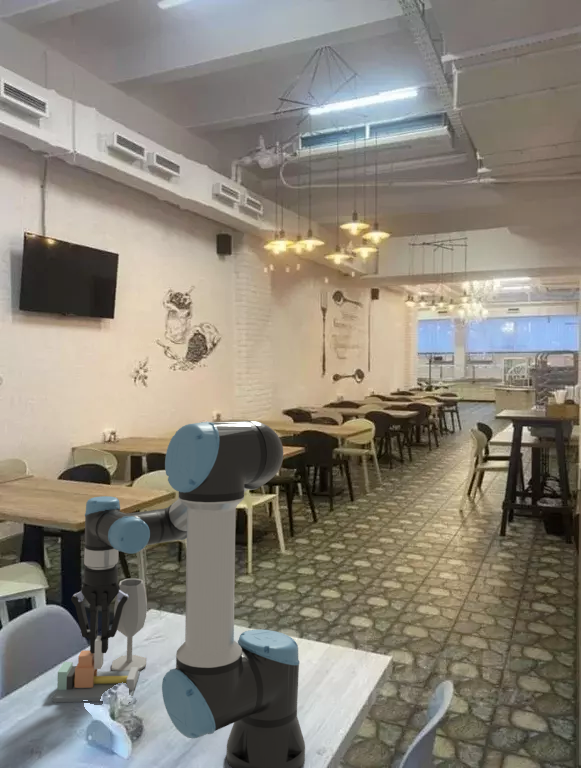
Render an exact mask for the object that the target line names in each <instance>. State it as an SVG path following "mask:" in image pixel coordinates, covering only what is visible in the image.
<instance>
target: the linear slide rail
mask: <svg viewBox="0 0 581 768" xmlns="http://www.w3.org/2000/svg"><path fill="white" fill-rule="evenodd" d="M73 664H74V663H73V661H63V663H62V664H61V666H60V668H59V670H58V671H57V688H56V689H57V690H56V691H55V693H54V695H53V697H52V703H82V702H81V701H83V700H88V701H92V702H93V703H95V702H98V701H100V699H101V696H102V694H103V693H104V692H105V691H107V690H108V689H110V688H112V687H113V686H114V685H116V684H118V683H122V682H123V683H126V684H127V686H128V688H129V695H131V696H133V697H134V693H135V691H136V688H137V685H138V681H139V678H140V674H141V673H140V672H141V670H140V671H138V667H131V669H130V671H113V670H109V671H104V670H103V671H97V676H94V686H93V688H75V668H76V666H77V665H73Z"/></svg>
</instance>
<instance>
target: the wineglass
mask: <svg viewBox="0 0 581 768" xmlns="http://www.w3.org/2000/svg"><path fill="white" fill-rule="evenodd" d="M118 585H119V587H120V590H121V591H122V592H124V593H128V594H129V597H128V599H127V601H126V602H125V604H124V607H123V610H122V614H121V618H120V621H119V625H118V628H117V632H119V633H121V634H122V635H124V636H125V637H127V638H126V655H121V656H119V657H118V658H115V659H114V660H112V664H111V671H130V669H131V667H138V671H140V672H141V670H143V669H144V668H146V667H147V657H145V656H141V655H136V654H133V637H134V636H135V635H137V633H139V632H140V631H141V630H142V629H143V628H144V626H145V623H146V619H147V603H148V602H147V601H148V599H147V592H146V587H145V583H144V580H143V579H140V578H135V577H134V578H125V579H122V580H120V581H119V582H118ZM117 599H118V596H117V595H116V597H115V601H114V602H115V603H114V610H113V613H114V614H113V617H114V616H115V613H116V609H117V606H118V604H119V602H118V601H117Z"/></svg>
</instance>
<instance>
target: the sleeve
mask: <svg viewBox="0 0 581 768" xmlns="http://www.w3.org/2000/svg"><path fill="white" fill-rule="evenodd" d="M94 655H95V653H91V652H90V649H89V650H88V649H87V650H81V651H80V653H79V655H78V657H77V658H78V661H77V664H76V665H75V666H76V668H75V688H93V686H94V676H97V672H98V669H94Z"/></svg>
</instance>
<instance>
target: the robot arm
mask: <svg viewBox="0 0 581 768" xmlns="http://www.w3.org/2000/svg"><path fill="white" fill-rule="evenodd" d="M283 461H284V447H283V443H282V440H281V439H280V437H279V435H278V434H277V432H276V431H275V430H274V429H272V428H271V427H270V426H268V425H267V424H265V423H262V422H260V421H255V420H243V421H240V420H239V421H202V422H201V421H200V422H194V423H188V424H185V425H183V426H180V428H178V430H177V431H176V432H175V434H174V435H173V436H171V439H170V441H169V443H168V446H167V449H166V452H165V460H164V469H165V475H166V476H167V477H168V478H167V481H168V483H169V485H170V486H171V488H172V489H173V490H175V491H177V492H178V499H176V500H175V501H174V502H173V503H171V504H170V505H169V506H168V507H165V508H159V509H152V510H144V511H137V512H131V513H130V512H129V513H125V512H123V511H121V505H120V500H119V498H118V497H115V496H109V495H108V496H107V495H106V496H103V495H102V496H101V495H100V496H95V497H90V498H88V500H87V501H86V503H85V506H86V507H85V513H84V517H85V518H84V521H85V522H84V558H83V559H84V560H83V562H84V563H83V564H84V565H85V566H84V568H83V584H82V585H83V586H82V587H81V590H80V591H79V592H75V593H74V594H73V595H72V597H71V598H70V600H71V602H72V604H73V605H74V606H75V611H76V614H77V619H78V624H79V628H80V633H81V636H82V638H88V639H89V641H90V642H89V645H90V646H89V650H90V652H91V653H95V655H94V669H97V670H101V669H102V667H103V665H104V654H106V653H107V652H108V650H109V639H110V638H114V637H115V636H116V634H117V632H118V630H117V628H118V625H119V621H120V618H121V614H122V610H123V607H124V604H125V602H126V601H127V599H128V597H129V594H128V593H124V592H122V591H121V590H120V587H119V565H118V563H119V552H122V553H125V554H137V553H139V552H140V551H142V550H144V549H145V548H146V547H147V546H150V545H151V546H152V545H156V544H160V543H161V544H162V543H167V542H173V541H179V540H181V541H182V540H186V555H185V556H186V559H185V562H186V564H185V565H186V568H185V570H186V571H185V573H186V574H185V630H184V631H185V632H184V633H185V635H184V636H185V637H184V639H185V640H184V642H183V643H182V644H181V645H180V646H179V647H178V648H177V650H176V655H175V657H176V659H175V663H176V664H175V668H170V669H169V670H168V671H167V672H166V673H165V675H164V676H163V678H162V683H161V692H162V699H163V704H164V706H165V710H166V712H167V715H168V716H169V719H170V721H171V722H172V724H173V725H174V727H175V729H176V730H177V731H178V732H179V733H180V734H182V735H183V736H184V737H186V738H188V739H198V738H200V737H204V736H206V735H213V734H215V732H216V731H219V730H221V729H222V728H225V727H228V726H229V725H231V724H232V726H231V730H230V733H229V736H228V739H227V742H226V758H225V759H226V761H227V763H228V766H229V767H230V766H231V767H232V768H301V767H302V766H303V765H304V764H305V763H304V762H305V759H306V758H305V757H306V744H305V743H306V742H305V740H304V735H303V731H302V729H301V728H302V727H301V726H300V725H301V724H300V722H299V719H298V696H299V695H298V694H299V674H300V673H299V670H300V668H299V667H300V660H299V645H298V643H297V642H296V641H295V640H294V639H293V638H292V637H291V636H289V635H288V634H285V633H282V632H280V631H275V630H271V629H257V628H256V629H250V630H245V631H244V632H242V633H240V635H239V638H238V640H237V641H236V640H235V639H234V638H235V586H236V585H235V584H236V583H235V578H236V577H235V575H236V573H235V572H236V571H235V569H236V513H237V512H236V511H237V509H236V508H237V506H238V505H240V504H241V503H242V501H244V500H245V492H247V491H248V490H249V491H252V490H253V491H254V490H257V489H260V488H261V487H262V486H264V485H265V484H266V483H268V482H269V481H271V480H272V479H273V478H274V477H275V476H276V475H277V474H278V472H279V470H280V469H281V467H282V464H283ZM116 595H117V596H118V599H117V601H118V602H119V604H118V606H117V609H116V613H115V616H114V615H113V620H112V624H111V627H110V609H111V603H112V602H113V601H114V600H115V599H116ZM84 598H85V599H86V601H87V603H88V604H89V611H90V619H89V621H90V622H89V621H88V617H87V616H88V615H87V611H86V607H85V604H84ZM99 606H101V635H98V634H99V632H98V631H99V628H98V627H99ZM110 628H111V629H110ZM231 767H230V768H231Z"/></svg>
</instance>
